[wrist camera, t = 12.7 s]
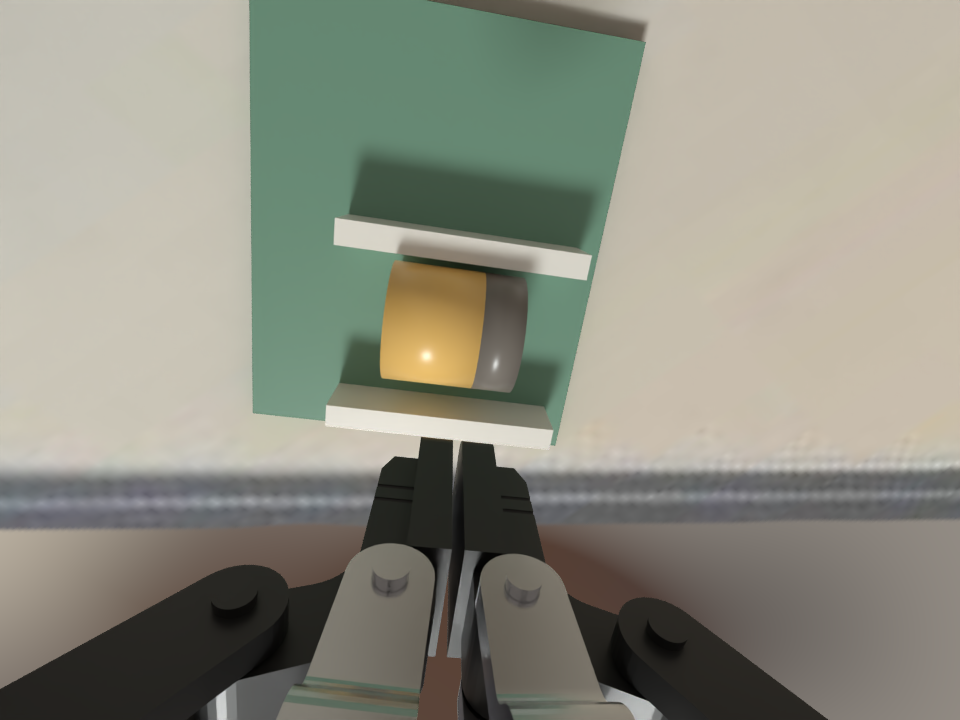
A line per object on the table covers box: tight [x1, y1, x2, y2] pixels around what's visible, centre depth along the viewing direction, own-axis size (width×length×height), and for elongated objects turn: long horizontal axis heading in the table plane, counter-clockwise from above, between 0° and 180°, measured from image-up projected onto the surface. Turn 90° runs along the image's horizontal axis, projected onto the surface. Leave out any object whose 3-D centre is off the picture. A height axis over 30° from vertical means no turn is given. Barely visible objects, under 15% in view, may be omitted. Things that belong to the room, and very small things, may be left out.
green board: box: [249, 0, 646, 446], centre depth 22 cm, size 18×15×1 cm
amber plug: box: [380, 260, 528, 393], centre depth 20 cm, size 5×5×5 cm
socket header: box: [325, 214, 592, 450], centre depth 21 cm, size 9×10×2 cm
